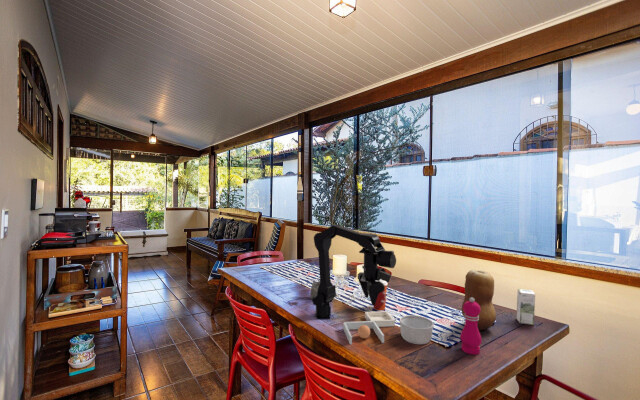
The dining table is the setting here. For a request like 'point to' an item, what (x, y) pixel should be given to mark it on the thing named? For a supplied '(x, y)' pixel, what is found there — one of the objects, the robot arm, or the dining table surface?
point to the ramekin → (416, 329)
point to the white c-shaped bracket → (356, 325)
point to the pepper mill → (471, 328)
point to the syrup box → (525, 306)
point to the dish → (380, 318)
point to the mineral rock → (315, 290)
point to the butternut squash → (481, 296)
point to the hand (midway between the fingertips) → (370, 301)
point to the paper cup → (381, 298)
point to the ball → (364, 331)
